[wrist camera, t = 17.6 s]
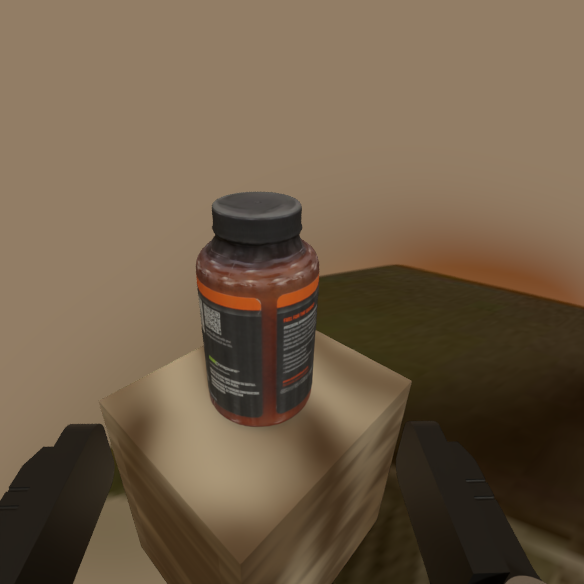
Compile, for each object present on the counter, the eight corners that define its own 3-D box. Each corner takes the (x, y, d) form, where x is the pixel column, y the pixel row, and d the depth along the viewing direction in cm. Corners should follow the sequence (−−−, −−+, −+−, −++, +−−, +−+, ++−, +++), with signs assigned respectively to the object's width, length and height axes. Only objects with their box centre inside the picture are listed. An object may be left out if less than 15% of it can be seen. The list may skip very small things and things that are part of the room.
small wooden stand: (272, 436, 38) (274, 308, 30) (376, 520, 31) (411, 380, 24) (141, 546, 29) (98, 400, 21) (248, 700, 22) (240, 564, 14)
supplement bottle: (318, 368, 24) (334, 191, 19) (300, 443, 19) (315, 231, 14) (230, 352, 25) (220, 181, 20) (190, 420, 20) (162, 215, 15)
